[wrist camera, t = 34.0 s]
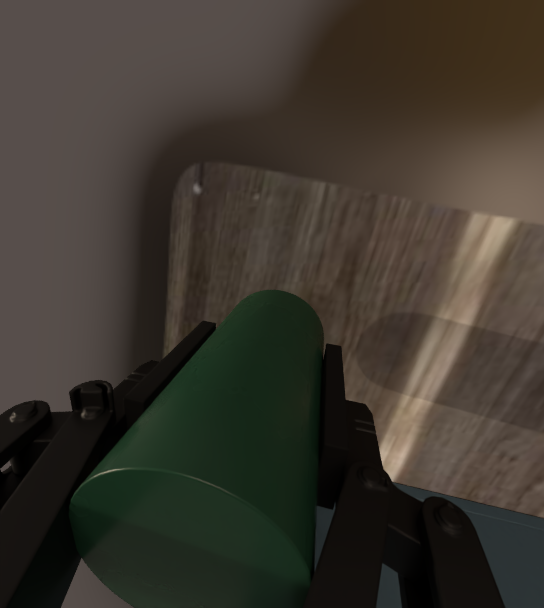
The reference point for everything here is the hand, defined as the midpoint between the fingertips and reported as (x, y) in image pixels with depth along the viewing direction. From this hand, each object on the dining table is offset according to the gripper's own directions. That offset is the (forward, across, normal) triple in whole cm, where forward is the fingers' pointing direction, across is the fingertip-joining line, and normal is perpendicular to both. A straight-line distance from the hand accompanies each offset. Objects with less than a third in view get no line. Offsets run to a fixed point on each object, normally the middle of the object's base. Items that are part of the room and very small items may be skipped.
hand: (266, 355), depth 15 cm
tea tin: (+2, 0, 0) cm, 2 cm away
